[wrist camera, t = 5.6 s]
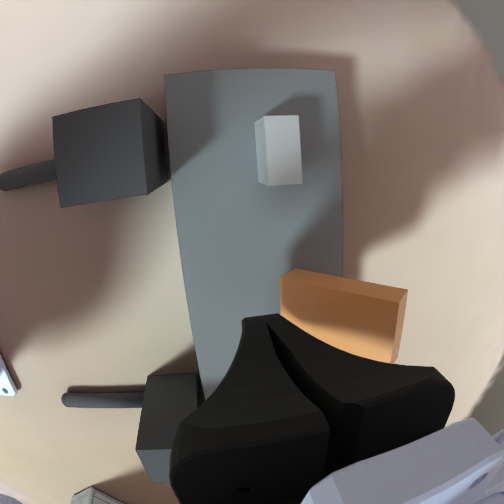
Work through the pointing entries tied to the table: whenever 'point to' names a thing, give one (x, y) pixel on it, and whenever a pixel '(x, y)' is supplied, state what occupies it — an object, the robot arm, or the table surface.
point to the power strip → (251, 194)
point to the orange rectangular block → (345, 312)
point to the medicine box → (93, 498)
